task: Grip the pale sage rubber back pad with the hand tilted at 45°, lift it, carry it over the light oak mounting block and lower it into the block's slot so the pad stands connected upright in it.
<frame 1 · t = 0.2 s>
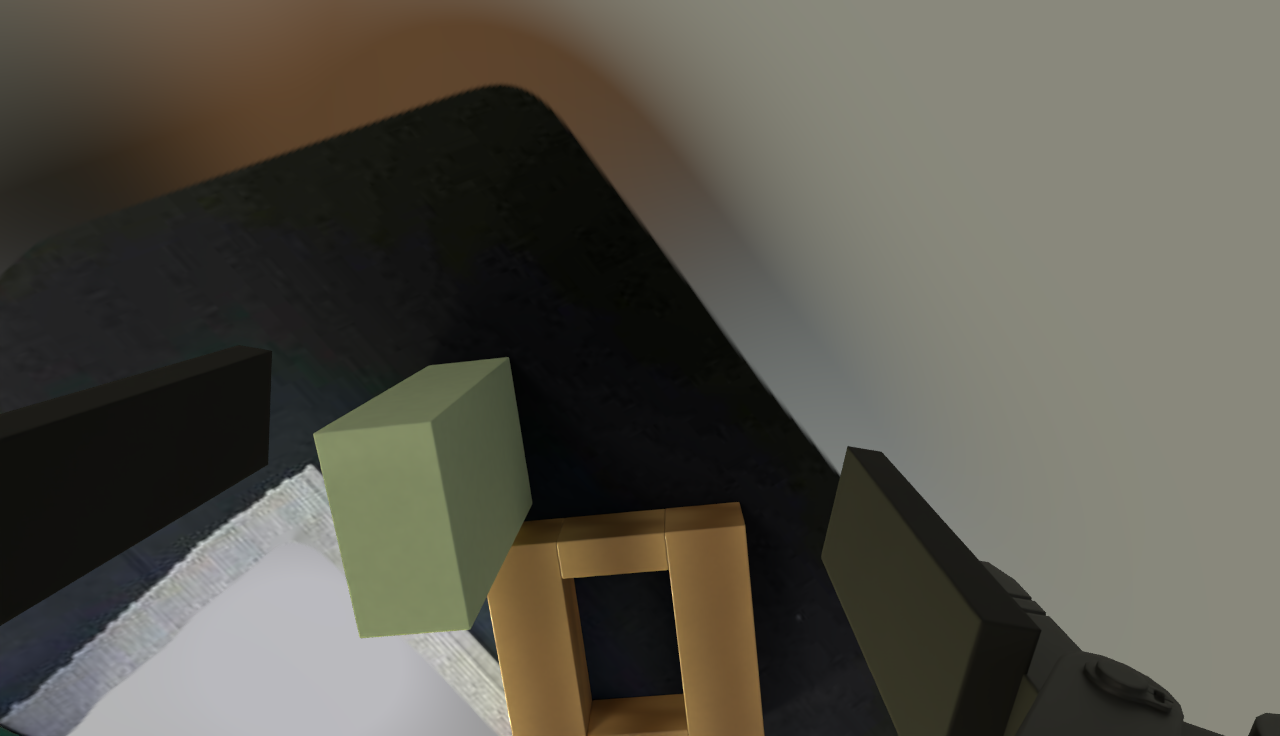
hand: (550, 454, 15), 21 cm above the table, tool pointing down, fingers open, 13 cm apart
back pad: (481, 435, 37), on the table
mount block: (629, 623, 39), on the table
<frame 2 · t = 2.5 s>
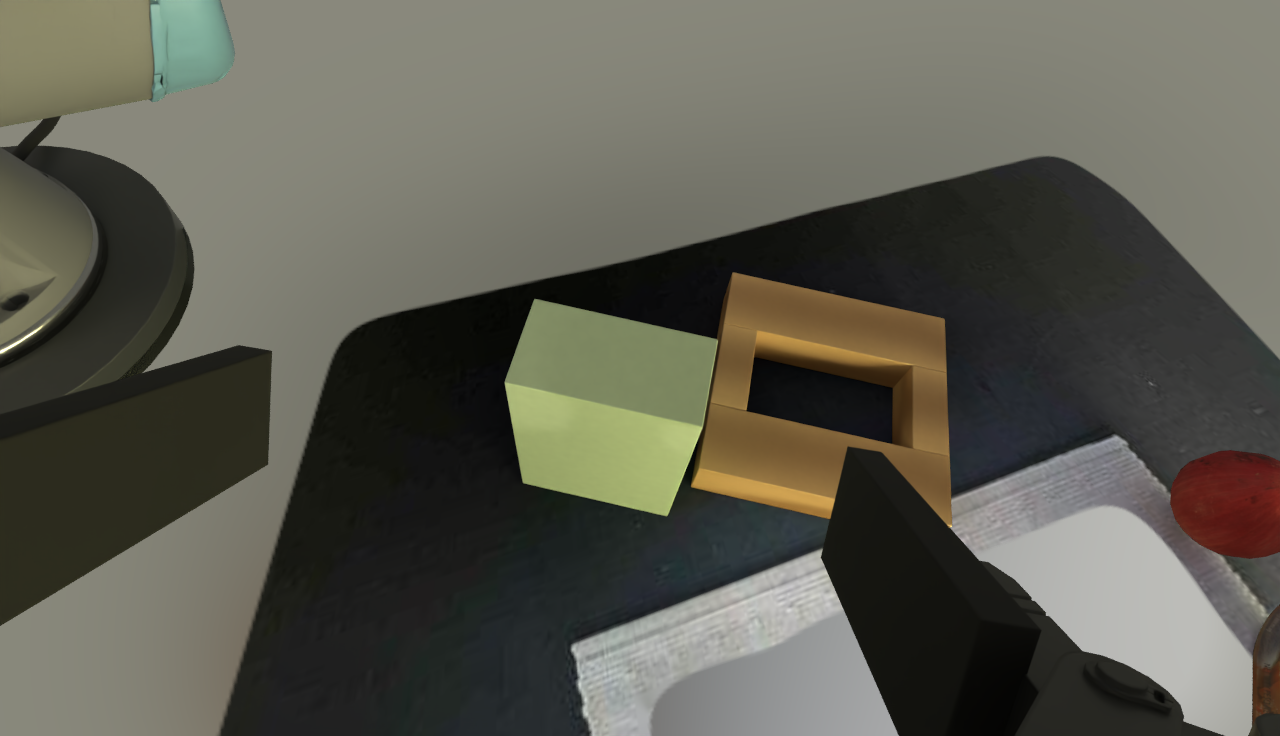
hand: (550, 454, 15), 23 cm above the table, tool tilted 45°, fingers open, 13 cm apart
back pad: (603, 464, 39), on the table
onion: (1181, 524, 41), on the table
mount block: (816, 409, 42), on the table
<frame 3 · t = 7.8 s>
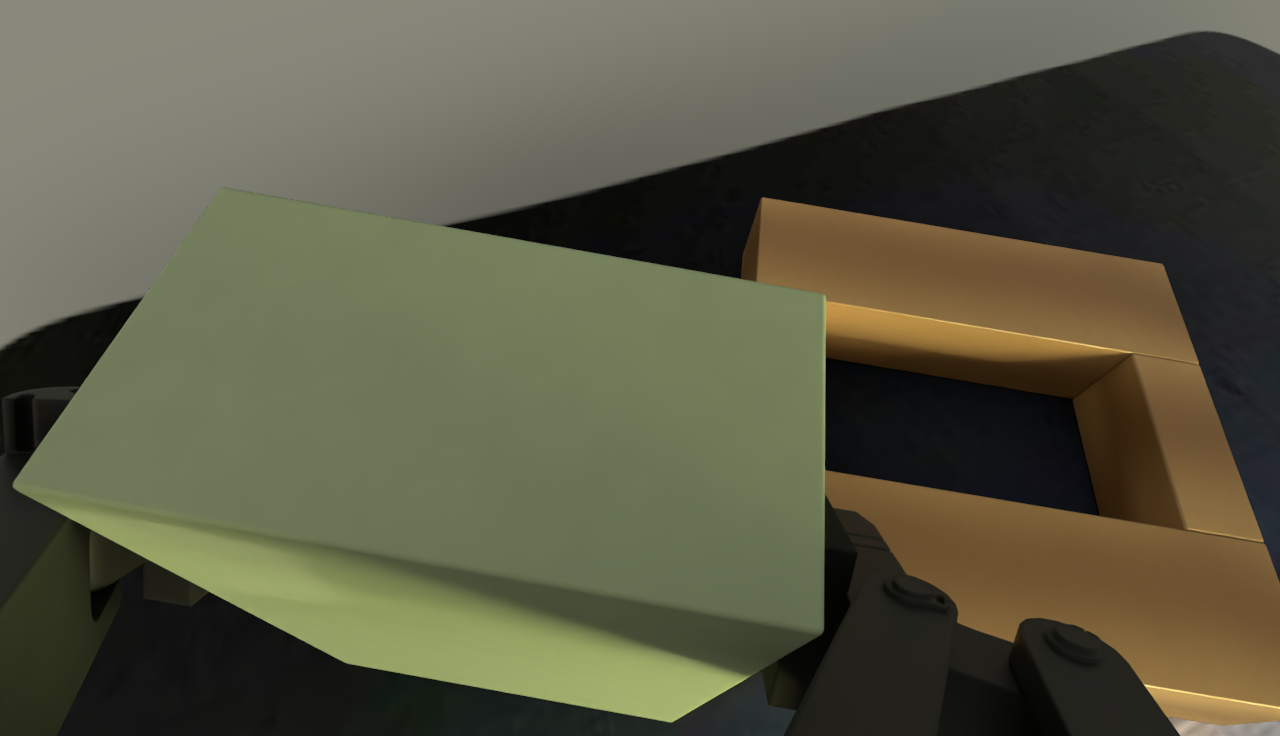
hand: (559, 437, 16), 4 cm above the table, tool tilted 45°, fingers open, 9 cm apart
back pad: (529, 602, 18), on the table, touching gripper
mount block: (941, 450, 22), on the table
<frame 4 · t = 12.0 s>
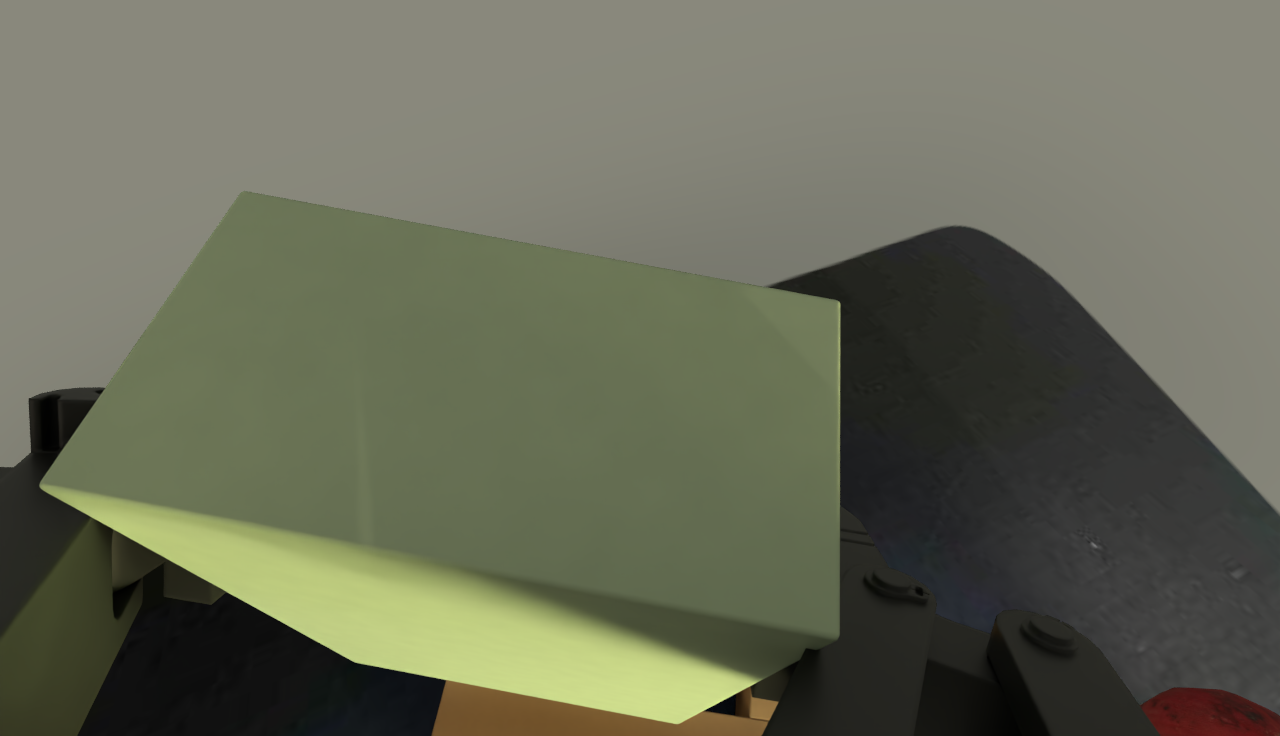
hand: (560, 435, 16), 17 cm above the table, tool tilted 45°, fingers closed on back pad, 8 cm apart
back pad: (537, 603, 18), point 13 cm above the table, touching gripper
mount block: (631, 635, 30), on the table
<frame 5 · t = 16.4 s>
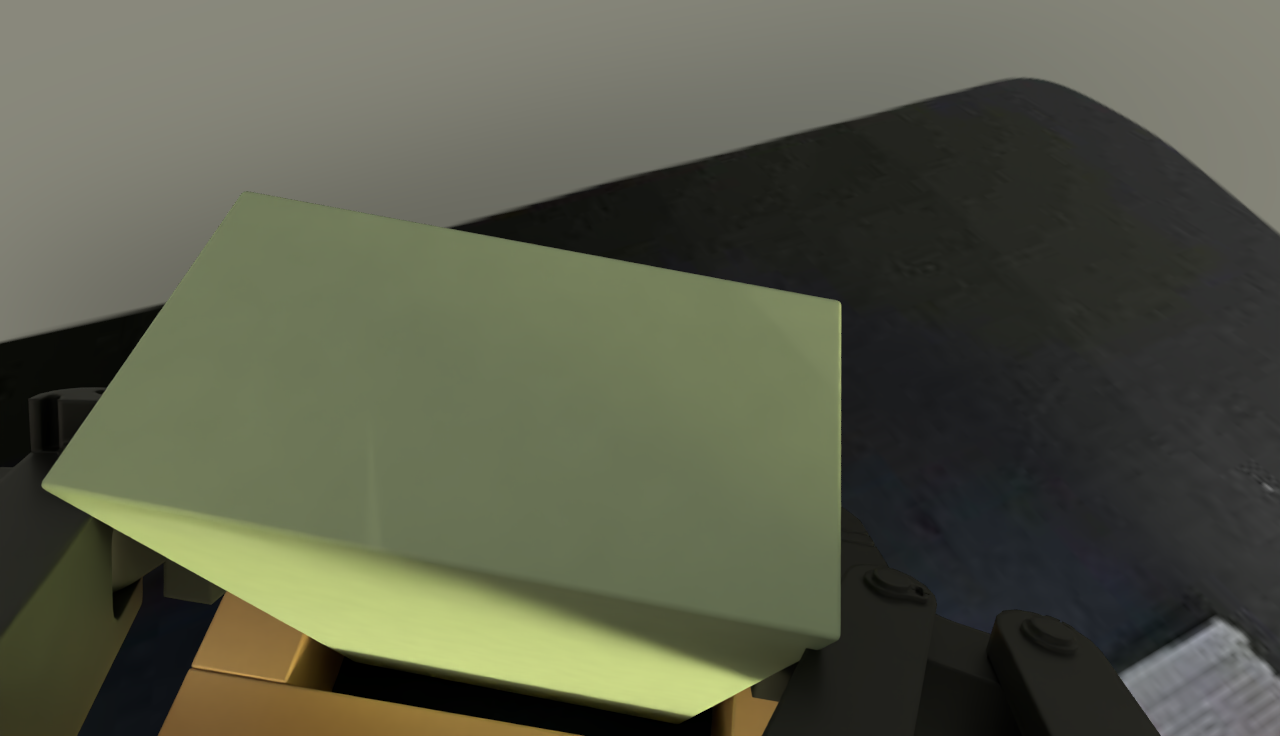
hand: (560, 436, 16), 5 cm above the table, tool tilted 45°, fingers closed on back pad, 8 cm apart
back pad: (537, 603, 18), resting in mount block, touching gripper
mount block: (543, 615, 18), on the table
when the fingers open (5 cm above the table, at t = 23.8 s): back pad stays where it is, resting in mount block.
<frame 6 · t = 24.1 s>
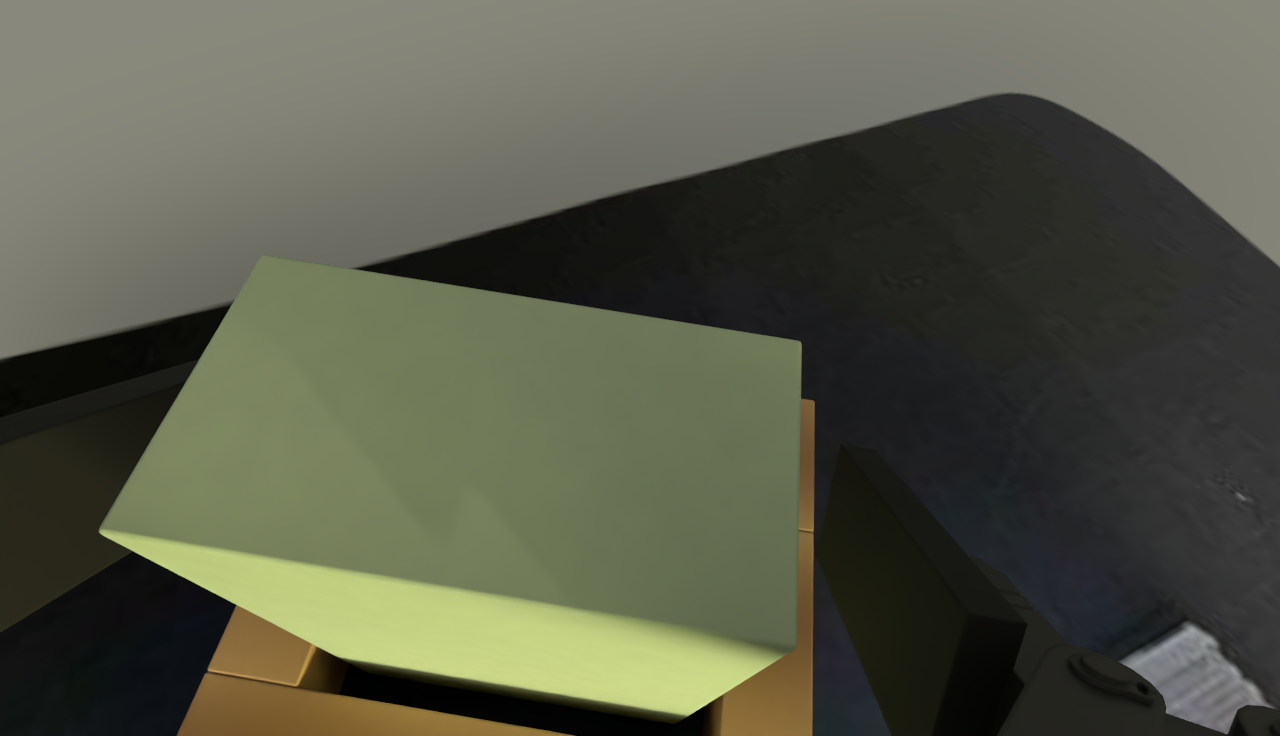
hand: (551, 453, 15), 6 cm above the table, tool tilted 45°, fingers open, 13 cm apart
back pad: (539, 613, 19), resting in mount block
mount block: (541, 620, 19), on the table
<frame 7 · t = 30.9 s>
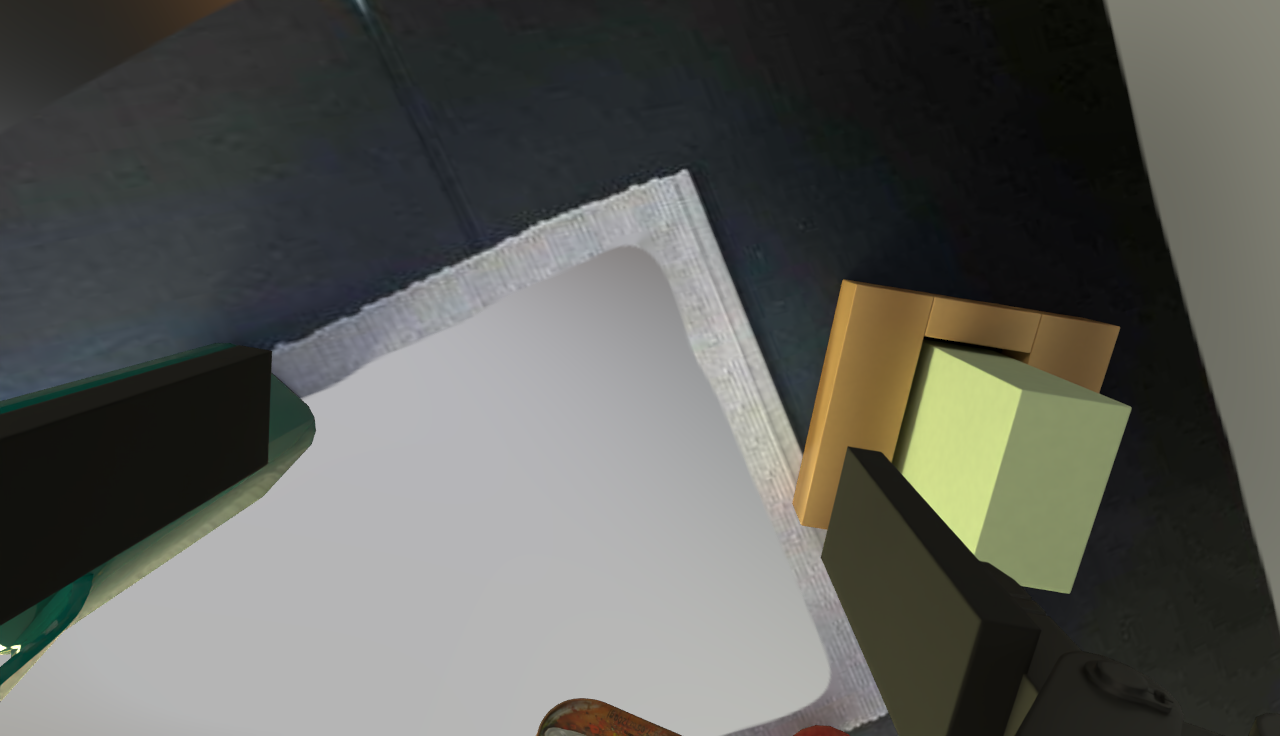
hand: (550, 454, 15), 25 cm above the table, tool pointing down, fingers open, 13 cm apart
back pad: (936, 413, 40), resting in mount block
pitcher: (250, 427, 42), on the table
onion: (814, 731, 45), on the table
mount block: (933, 415, 40), on the table
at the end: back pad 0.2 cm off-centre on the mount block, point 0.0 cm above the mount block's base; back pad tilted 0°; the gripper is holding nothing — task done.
